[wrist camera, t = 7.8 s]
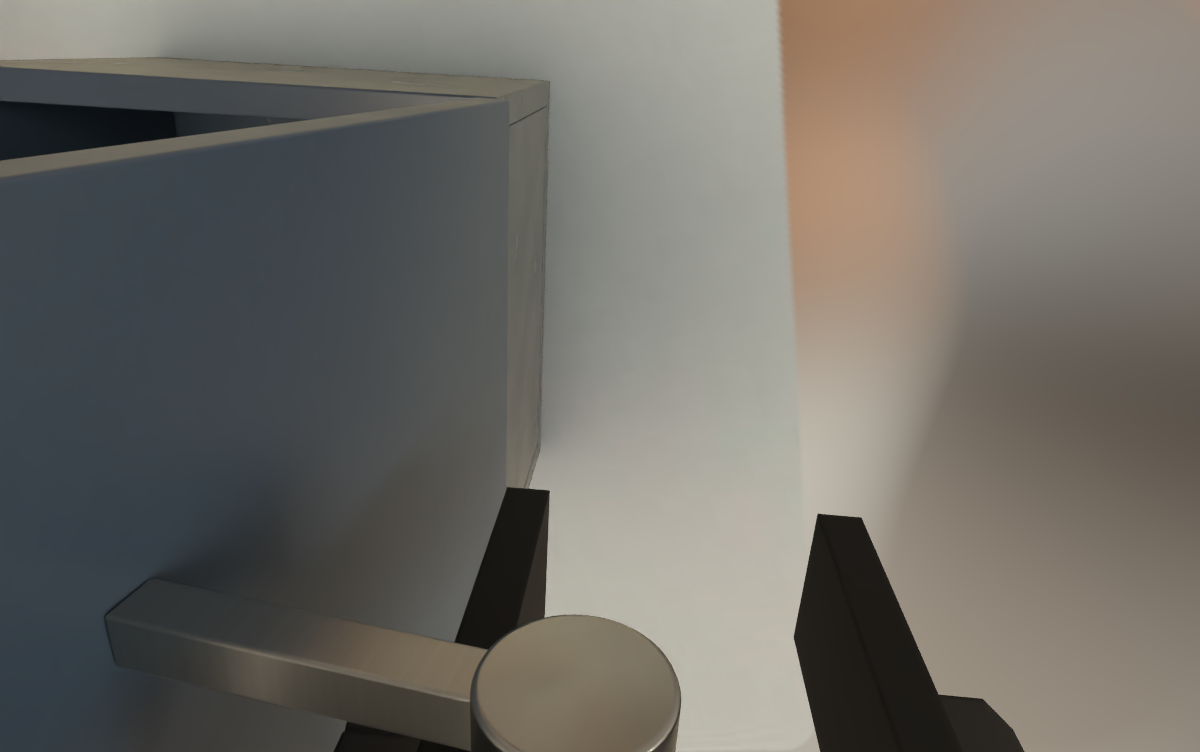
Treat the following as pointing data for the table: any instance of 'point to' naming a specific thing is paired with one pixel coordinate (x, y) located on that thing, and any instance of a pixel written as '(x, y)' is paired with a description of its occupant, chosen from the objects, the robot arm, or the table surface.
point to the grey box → (289, 94)
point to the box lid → (275, 451)
